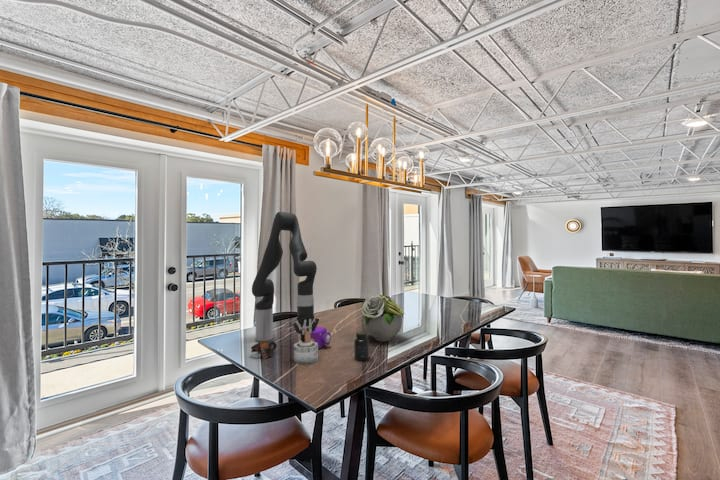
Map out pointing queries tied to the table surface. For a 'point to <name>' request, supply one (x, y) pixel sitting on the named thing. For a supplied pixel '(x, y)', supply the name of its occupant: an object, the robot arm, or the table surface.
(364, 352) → the supplement bottle
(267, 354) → the brown teapot
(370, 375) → the table surface
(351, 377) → the table surface
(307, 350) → the glass candle holder
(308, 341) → the knob lid with grip
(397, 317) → the flower arrangement
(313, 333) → the toy camera
